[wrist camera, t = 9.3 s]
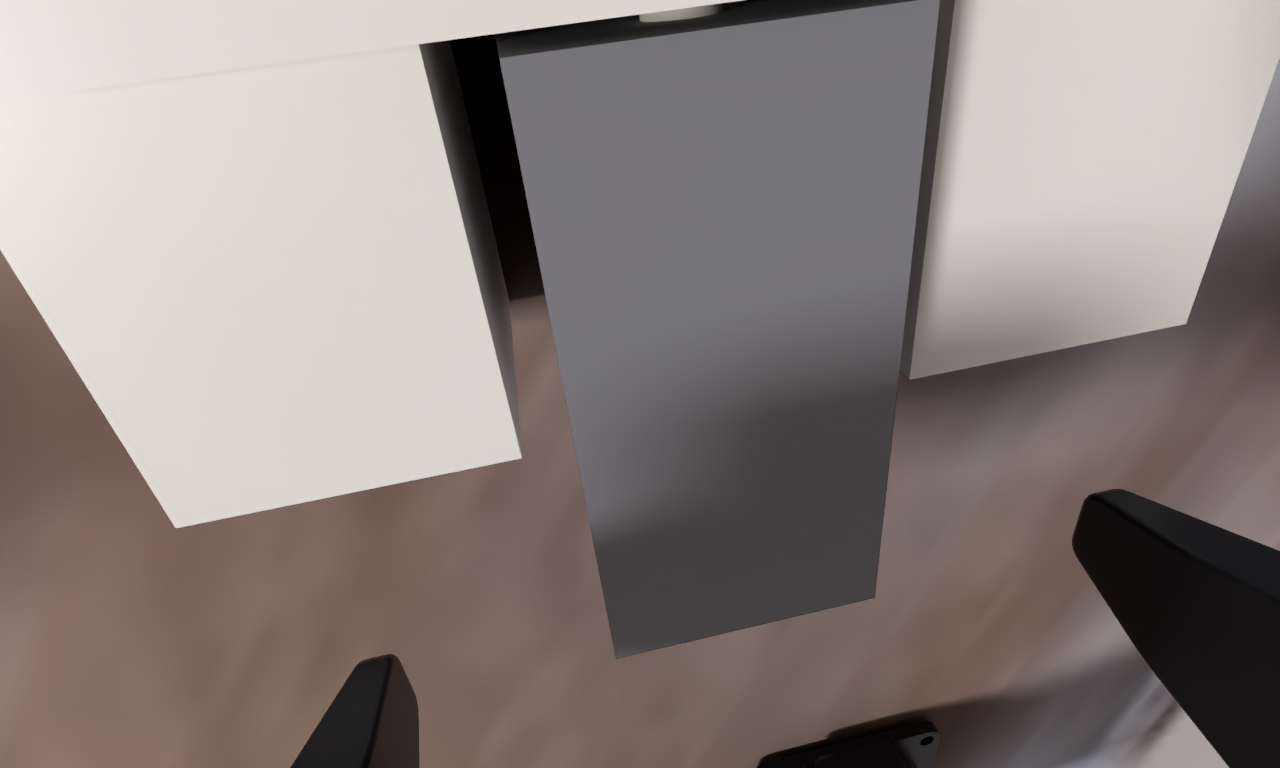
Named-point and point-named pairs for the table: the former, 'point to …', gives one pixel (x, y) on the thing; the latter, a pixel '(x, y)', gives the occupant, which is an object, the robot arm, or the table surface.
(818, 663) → the table surface
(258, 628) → the table surface
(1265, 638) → the robot arm
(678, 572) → the plug
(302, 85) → the socket
